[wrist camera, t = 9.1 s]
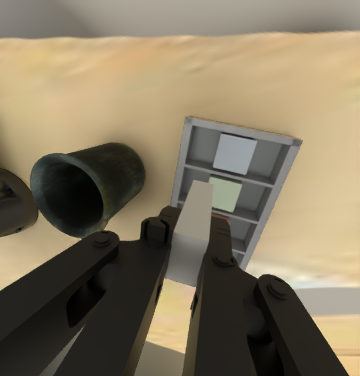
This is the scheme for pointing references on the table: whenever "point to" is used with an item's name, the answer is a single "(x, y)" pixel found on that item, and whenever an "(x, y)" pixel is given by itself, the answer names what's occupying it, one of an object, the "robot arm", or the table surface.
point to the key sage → (225, 192)
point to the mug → (86, 187)
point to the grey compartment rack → (236, 176)
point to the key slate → (234, 153)
